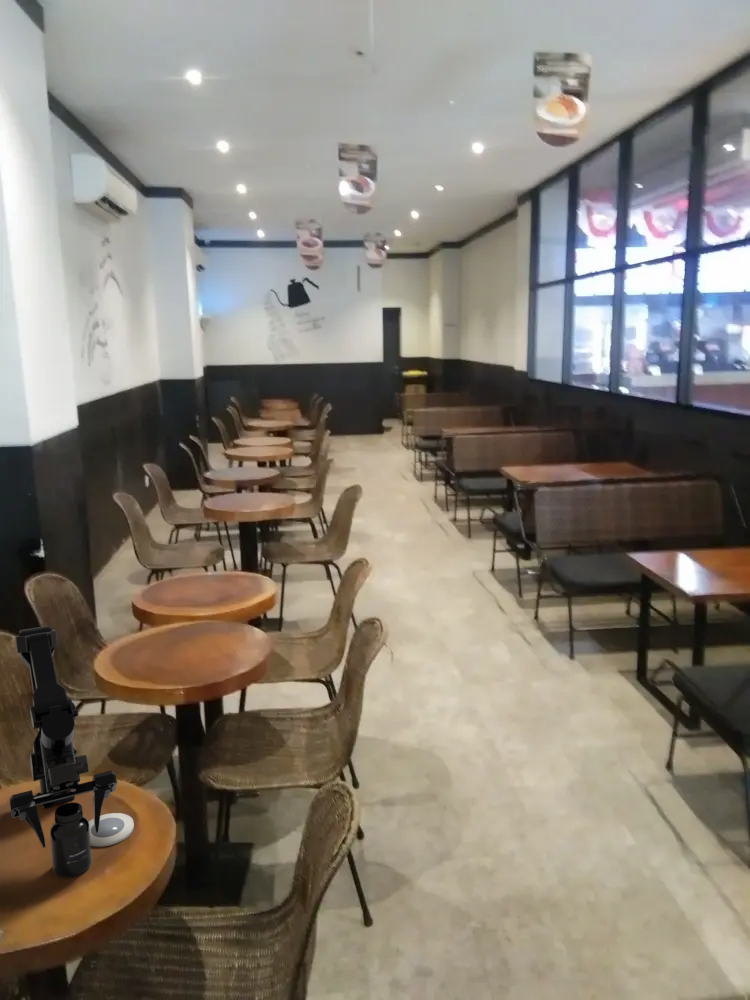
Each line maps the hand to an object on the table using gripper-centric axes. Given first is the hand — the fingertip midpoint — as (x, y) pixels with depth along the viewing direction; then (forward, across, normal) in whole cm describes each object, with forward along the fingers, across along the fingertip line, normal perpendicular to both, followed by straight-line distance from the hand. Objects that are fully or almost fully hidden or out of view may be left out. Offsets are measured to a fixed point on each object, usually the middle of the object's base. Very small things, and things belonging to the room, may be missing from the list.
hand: (71, 839), depth 144 cm
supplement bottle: (+4, 0, +6) cm, 7 cm away
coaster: (-2, +8, +12) cm, 14 cm away
